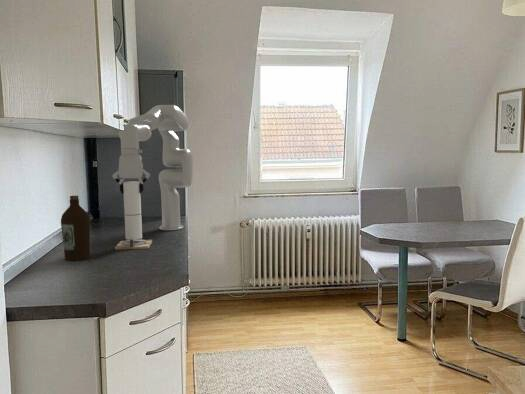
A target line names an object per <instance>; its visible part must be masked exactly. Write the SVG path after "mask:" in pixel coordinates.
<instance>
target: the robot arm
mask: <svg viewBox="0 0 525 394" xmlns="http://www.w3.org/2000/svg"><path fill="white" fill-rule="evenodd" d="M127 120H128V124H124V125H123V126H124V130H123V131H120V132H118V131H117V132H118V133H117V134H118V137H119V139H120V150H121V151H120V152H121V153H120V156H119V161H118V170H117V171H116V172H114V173H113V174H112V175H111V177H112V179H114V180H115V182H117V183H118V184H119V192H120V193H121V194H123V195H124V192H123V182H125V180H127V179H128V180H129V179H134V180H135V179H137V180H138V182H140V184H139V188H140V194H142V193H143V192H144V191H145V190H144V184H145V183H146V181H147V180H148V179H149V178H150V177H151V174H150V173H149V172H148V171H146V170H145V169H144V164H143V158H142V155H140V154H143V150H142V149H140V142H146V141H148V140H149V139H151V137H152V131H154V130H157V129H158V132H159V133H160V136H161V138H162V164H163V165H164V166H165V167H167V168H169V169H162V170H161V171H160V172H159V174H158V182H159V186H160V193H161V195H160V198H161V199H160V200H161V223H162V224H161V225H160V226H159V230H161V231H179V230H182V229H184V225H183V224H181V203H180V202H181V201H180V199H181V198H180V193H179V191H178V190H177V189H178V188H189V187H191V185H192V182H193V169H194V168H193V165H194V157H193V153H192V151H191V150H190V149H186V148H180V139H179V137H178V135H177V134H176V133H175V132H184V131H187V129H188V128H189V124H190V123H189V119H188V116H187V115H186V114H185V113H184V111H182V110H181V108H180V107H178V105H175V104H159V105H154V106H153V107H152V108H151V109H149V110H148V111H147V112H146V113H144V114H140V115H138V116H136V117H132V118H130V119H127ZM171 168H172V169H171ZM173 168H176V169H173ZM177 168H181V169H177ZM144 176H145V177H144ZM143 177H144V178H143ZM119 178H120V179H119Z"/></svg>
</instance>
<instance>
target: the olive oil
mask: <svg viewBox="0 0 525 394" xmlns="http://www.w3.org/2000/svg"><path fill="white" fill-rule="evenodd" d="M60 218H61V219H60V226H61V235H62V243H63V244H62V245H63V251H64V252H63V253H64V255H63V256H64V260H65V259H66V261H68V260H72V261H73V260H74V262H77V261H76V260H78V261H85V260H87V259H90V258H91V248H90V247H91V238H90V237H91V236H90V235H91V232H90V231H91V222H90V221H91V220H90V215H89V214H88V212H87V211H86V210H85V209H84V208H83V207H82V206H81V205H80V199H79V195H70V196H69V206H68V207H67V209H66V210H65V211H64V212H63V214H62V215H61V217H60ZM72 261H71V262H72Z"/></svg>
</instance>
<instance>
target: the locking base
mask: <svg viewBox="0 0 525 394" xmlns="http://www.w3.org/2000/svg"><path fill="white" fill-rule="evenodd" d="M152 243H153V239H143V238H141V239H135V240H133V239H130V240H128V239H125V240H120V241H119V242H118V243H117V244H116V246H114V250H117V251H119V250H144V249H146V250H148V249H149V248H150V246H151V245H152Z"/></svg>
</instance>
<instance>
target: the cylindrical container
mask: <svg viewBox="0 0 525 394" xmlns="http://www.w3.org/2000/svg"><path fill="white" fill-rule="evenodd" d="M139 184H140V181H139V180H138V181H137V180H136V181H135V180H134V181H124V182H123V192H124V193H123V209H124V210H123V212H124V229H125V230H124V233H125V240H130V239H133V240H135V239H143V225H142V224H143V223H142V221H143V220H142V199H141V197H142V196H141V193H140V188H139Z"/></svg>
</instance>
